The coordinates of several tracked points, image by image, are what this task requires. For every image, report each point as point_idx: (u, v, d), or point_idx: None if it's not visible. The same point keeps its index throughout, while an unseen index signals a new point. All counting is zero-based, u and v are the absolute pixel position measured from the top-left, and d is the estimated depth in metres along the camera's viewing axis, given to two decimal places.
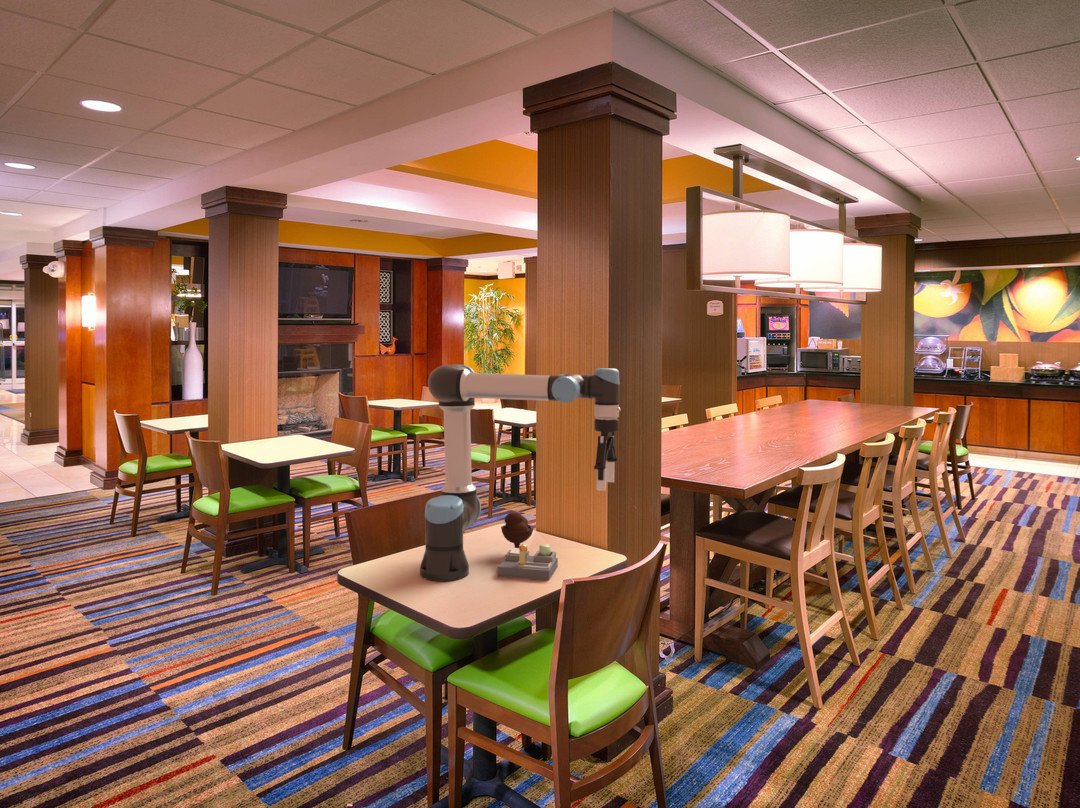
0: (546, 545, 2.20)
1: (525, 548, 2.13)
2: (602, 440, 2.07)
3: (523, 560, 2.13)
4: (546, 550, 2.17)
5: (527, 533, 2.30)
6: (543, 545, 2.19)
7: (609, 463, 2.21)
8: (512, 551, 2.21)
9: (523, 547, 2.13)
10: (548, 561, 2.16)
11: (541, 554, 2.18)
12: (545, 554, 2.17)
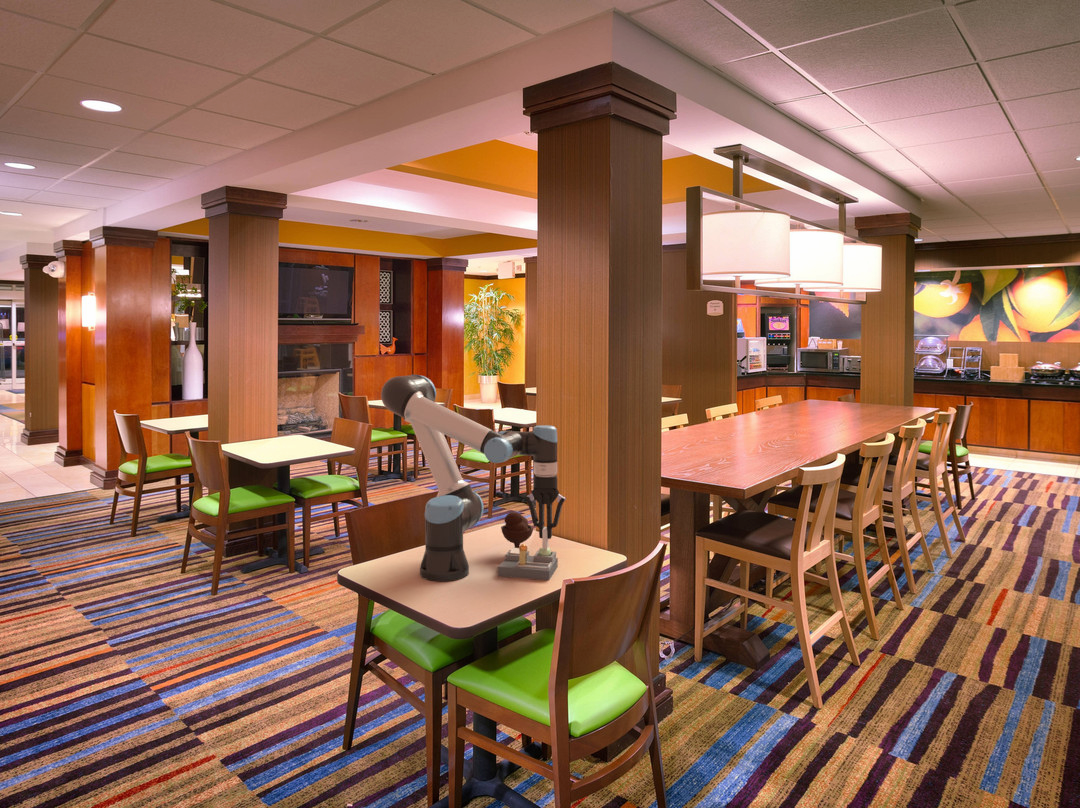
0: None
1: (525, 548, 2.13)
2: None
3: (523, 560, 2.13)
4: (546, 553, 2.18)
5: (527, 533, 2.30)
6: None
7: None
8: (512, 551, 2.21)
9: (523, 547, 2.13)
10: (548, 561, 2.16)
11: None
12: None
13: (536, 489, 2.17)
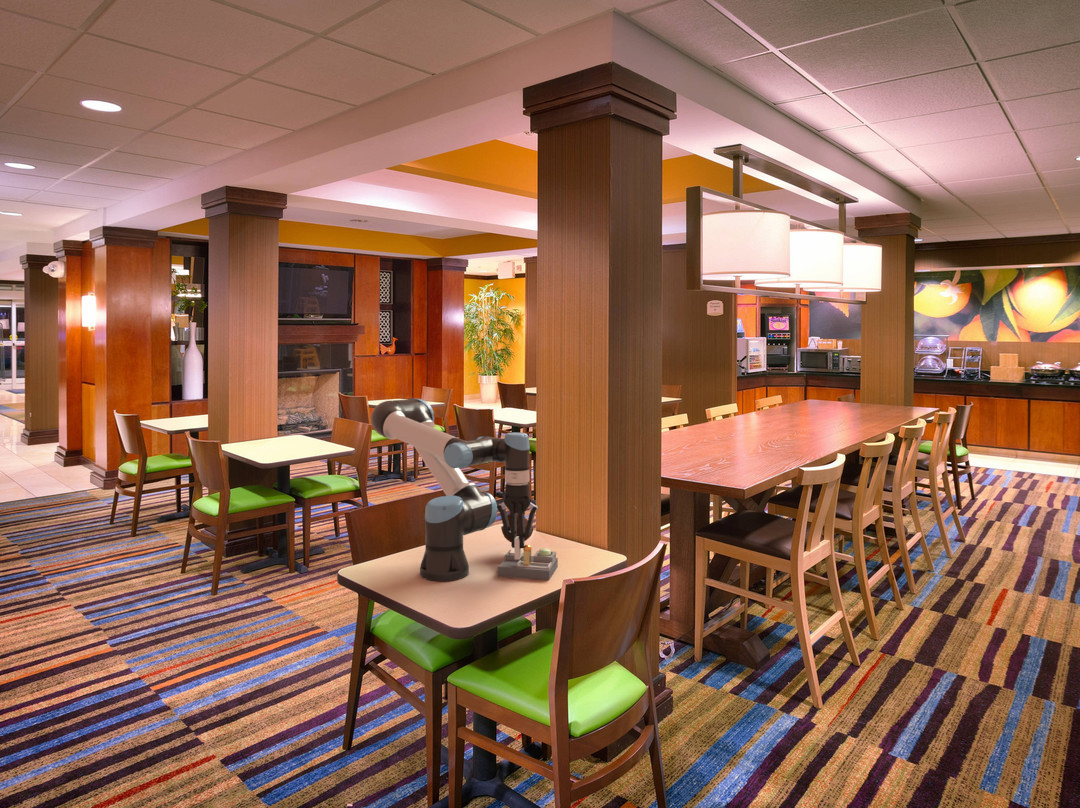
0: (546, 549, 2.20)
1: (529, 548, 2.13)
2: None
3: (527, 560, 2.13)
4: (546, 555, 2.18)
5: None
6: (543, 549, 2.20)
7: None
8: (512, 551, 2.21)
9: (527, 547, 2.13)
10: (548, 561, 2.16)
11: None
12: None
13: (508, 498, 2.13)
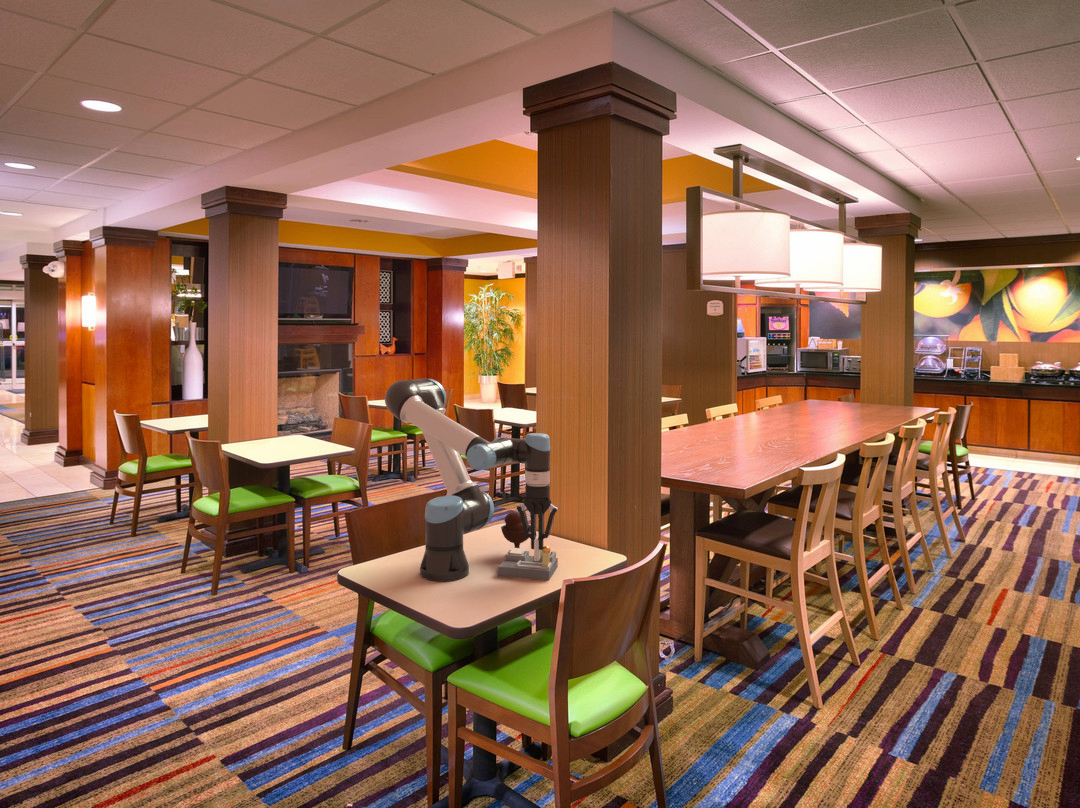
0: None
1: (548, 550, 2.11)
2: None
3: (546, 562, 2.11)
4: None
5: None
6: None
7: None
8: (512, 551, 2.21)
9: (546, 549, 2.11)
10: None
11: None
12: None
13: (528, 499, 2.11)
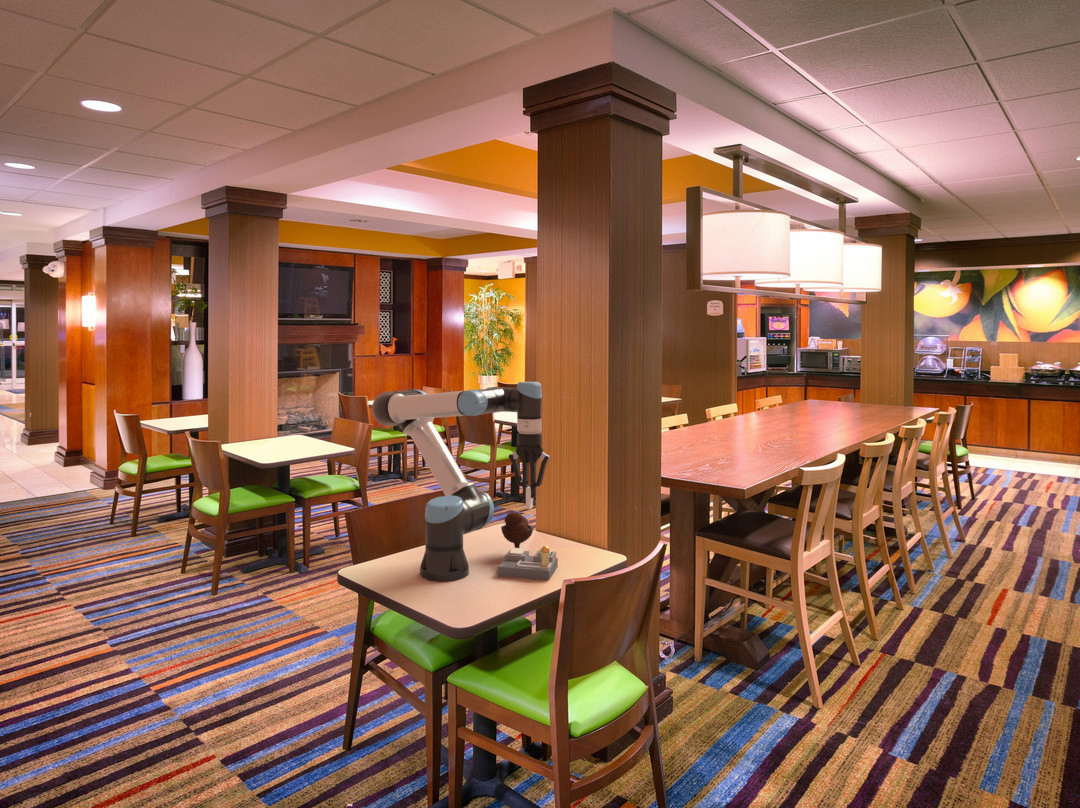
0: None
1: (547, 550, 2.11)
2: None
3: (545, 562, 2.12)
4: None
5: (527, 533, 2.30)
6: None
7: None
8: (512, 551, 2.21)
9: (545, 549, 2.11)
10: None
11: None
12: None
13: (520, 447, 2.11)
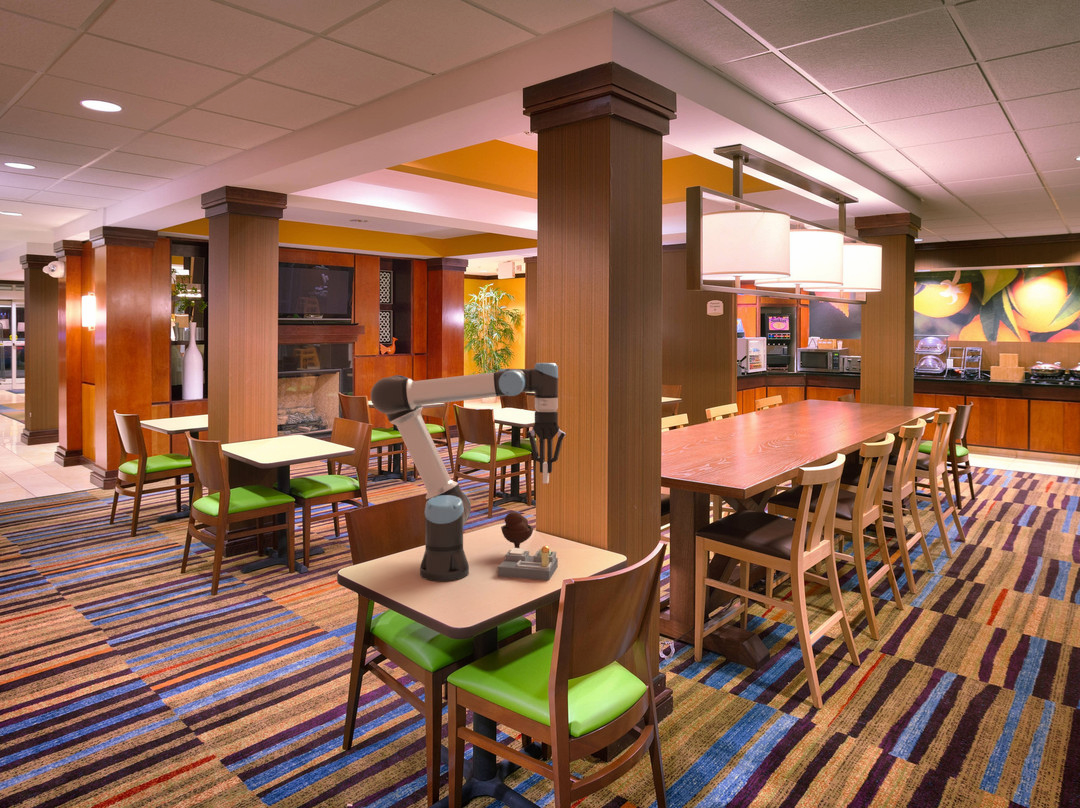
0: None
1: (547, 550, 2.11)
2: None
3: (545, 562, 2.12)
4: None
5: (527, 533, 2.30)
6: None
7: None
8: (512, 551, 2.21)
9: (545, 549, 2.11)
10: None
11: None
12: None
13: (537, 424, 2.23)
